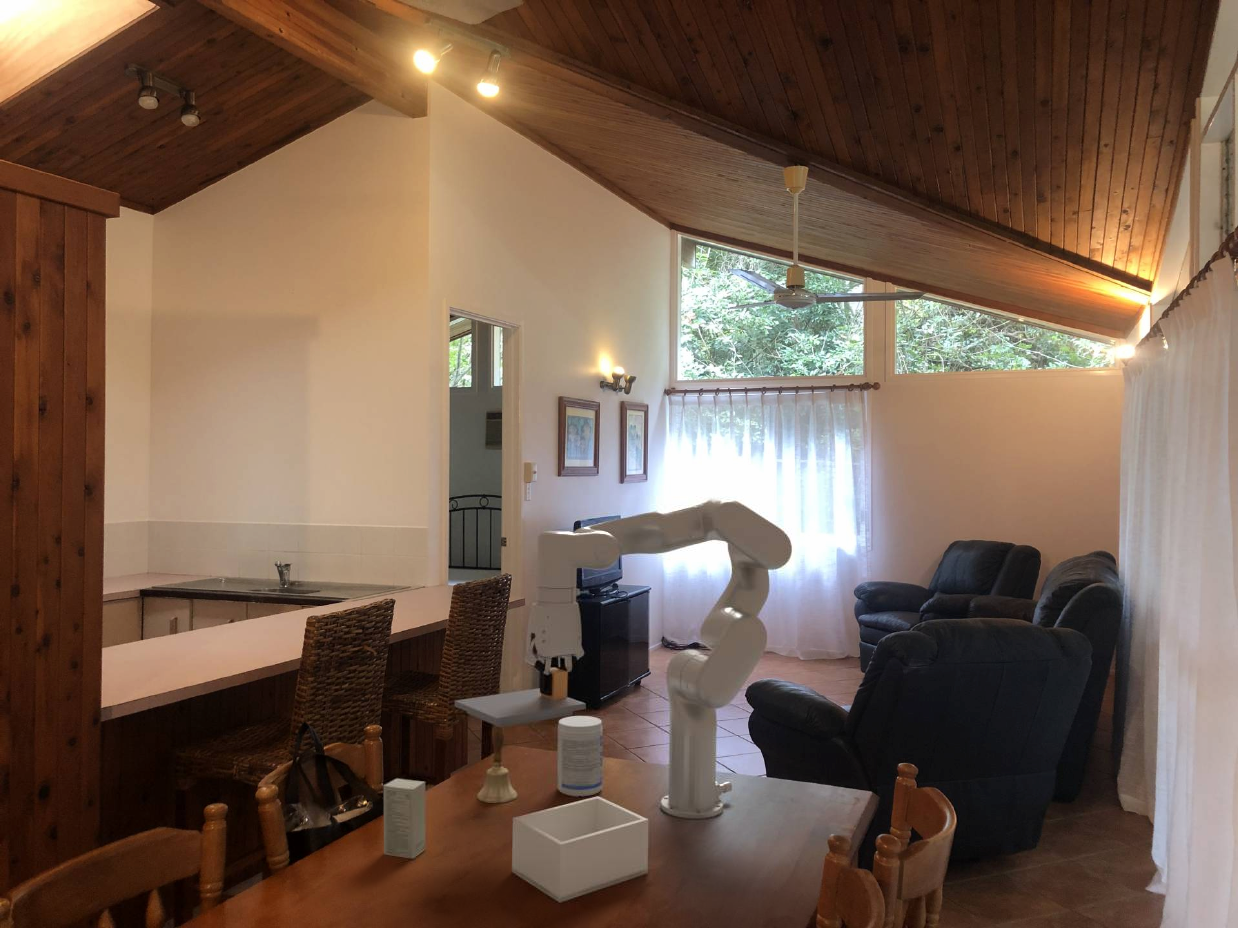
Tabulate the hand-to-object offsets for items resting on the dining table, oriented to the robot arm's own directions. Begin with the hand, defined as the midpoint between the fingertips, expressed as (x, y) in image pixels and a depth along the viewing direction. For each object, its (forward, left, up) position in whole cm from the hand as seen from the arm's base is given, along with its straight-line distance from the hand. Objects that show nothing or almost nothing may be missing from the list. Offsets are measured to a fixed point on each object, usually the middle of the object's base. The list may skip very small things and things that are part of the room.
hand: (553, 692), depth 174 cm
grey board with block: (+7, 0, -3) cm, 8 cm away
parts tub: (+7, +19, -26) cm, 33 cm away
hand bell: (-1, -21, -26) cm, 33 cm away
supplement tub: (-17, -14, -26) cm, 34 cm away
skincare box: (+27, -6, -26) cm, 38 cm away
